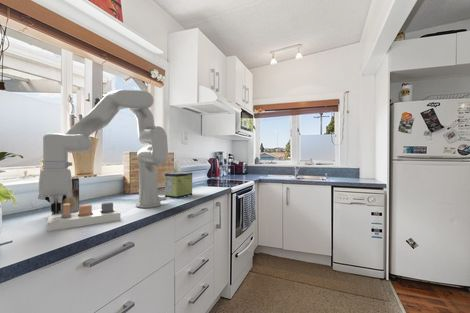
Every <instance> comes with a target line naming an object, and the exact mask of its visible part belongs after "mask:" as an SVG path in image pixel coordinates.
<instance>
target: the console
mask: <svg viewBox="0 0 470 313" xmlns="http://www.w3.org/2000/svg"><path fill="white" fill-rule="evenodd" d="M116 221H121V212H120V211H119V210H118V209H117V208H116V207H113V212H110V213H102V208H101V209H93V210H92V215H87V216H80V217H79V211H76V212H72V213H71V217H66V218H62V214H60V215H52V214H51V215H48V218H47V232H53V231H58V230H59V231H60V230H64V229H65V230H66V229H69V228H71V229H72V228H78V227H83V226H91V225H96V224H97V225H98V224H103V223H109V222H116Z"/></svg>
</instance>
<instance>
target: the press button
mask: <svg viewBox="0 0 470 313" xmlns="http://www.w3.org/2000/svg"><path fill="white" fill-rule="evenodd" d="M92 209H93V205H92V204H82V205H79V211H78V212H79V217H80V216H87V215H92Z"/></svg>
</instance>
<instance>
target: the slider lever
mask: <svg viewBox="0 0 470 313" xmlns="http://www.w3.org/2000/svg"><path fill="white" fill-rule="evenodd" d="M66 217H71V213H70V204H69V203H67V204H63V214H62V218H66Z"/></svg>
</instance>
